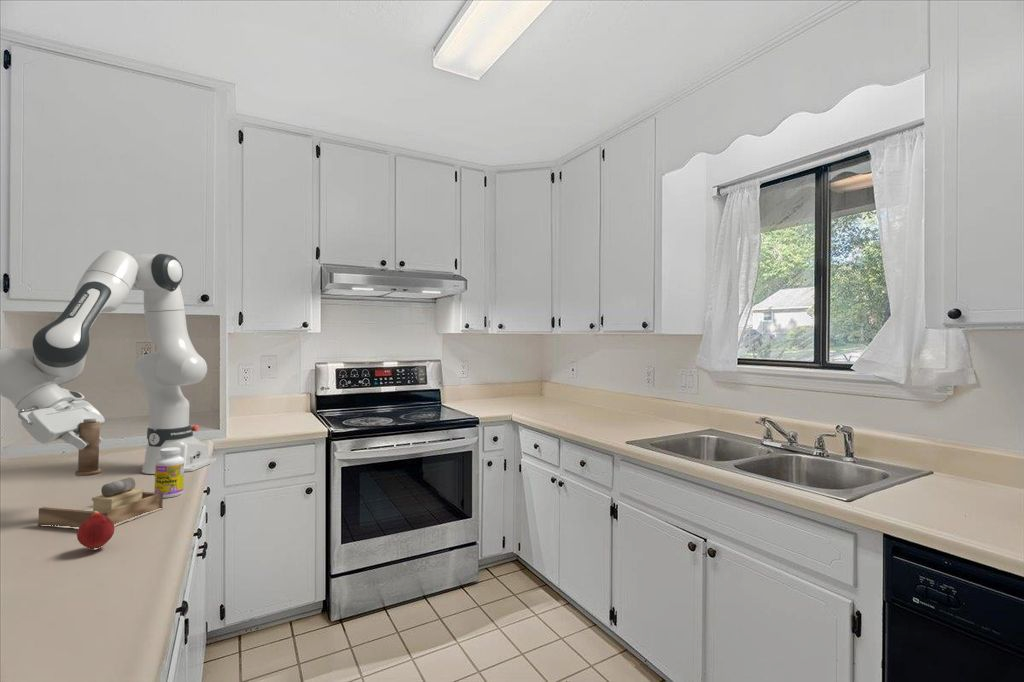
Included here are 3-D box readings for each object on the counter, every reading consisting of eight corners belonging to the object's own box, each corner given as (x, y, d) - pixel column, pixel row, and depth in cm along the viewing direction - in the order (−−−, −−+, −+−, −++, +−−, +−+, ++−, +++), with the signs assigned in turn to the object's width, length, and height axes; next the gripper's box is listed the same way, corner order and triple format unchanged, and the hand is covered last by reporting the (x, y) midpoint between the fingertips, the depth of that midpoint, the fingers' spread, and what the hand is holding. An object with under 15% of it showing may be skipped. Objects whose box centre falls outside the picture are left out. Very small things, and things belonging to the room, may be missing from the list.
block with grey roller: (124, 510, 126) (125, 475, 126) (143, 511, 125) (144, 477, 125) (91, 521, 117) (92, 484, 118) (111, 523, 117) (112, 486, 117)
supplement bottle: (150, 499, 136) (151, 451, 136) (160, 492, 142) (161, 446, 142) (178, 497, 138) (179, 450, 138) (186, 491, 144) (188, 446, 144)
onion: (109, 542, 107) (110, 504, 107) (117, 549, 103) (118, 510, 103) (73, 550, 102) (74, 511, 103) (80, 558, 99) (81, 517, 99)
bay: (105, 504, 131) (105, 489, 131) (162, 509, 128) (162, 493, 128) (38, 526, 115) (38, 508, 115) (101, 531, 113) (102, 513, 113)
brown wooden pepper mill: (89, 470, 125) (91, 417, 125) (105, 471, 125) (107, 418, 125) (69, 475, 121) (71, 420, 121) (86, 476, 120) (88, 421, 120)
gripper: (25, 400, 111) (74, 444, 113) (84, 392, 131) (126, 429, 133) (0, 420, 110) (51, 464, 112) (64, 409, 130) (106, 446, 132)
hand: (92, 445), depth 123 cm, fingers closed on brown wooden pepper mill, 4 cm apart
